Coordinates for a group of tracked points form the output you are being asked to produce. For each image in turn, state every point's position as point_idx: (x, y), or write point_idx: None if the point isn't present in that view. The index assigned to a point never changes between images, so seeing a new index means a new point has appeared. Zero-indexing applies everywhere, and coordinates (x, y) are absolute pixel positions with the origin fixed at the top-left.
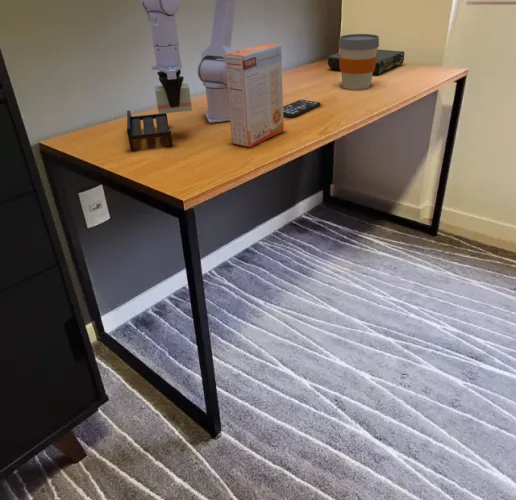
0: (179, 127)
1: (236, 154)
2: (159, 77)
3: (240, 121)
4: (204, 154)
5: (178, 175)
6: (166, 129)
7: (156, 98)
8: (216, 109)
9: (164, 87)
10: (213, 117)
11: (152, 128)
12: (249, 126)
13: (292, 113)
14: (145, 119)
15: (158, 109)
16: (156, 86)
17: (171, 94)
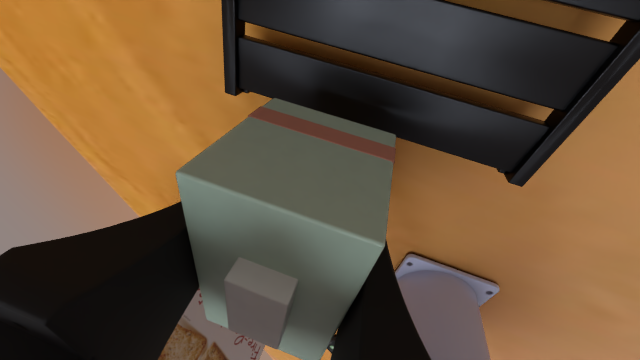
0: (453, 178)
1: (164, 182)
2: (29, 318)
3: None
4: (174, 129)
5: (34, 5)
6: (277, 91)
7: (295, 151)
8: (405, 302)
9: (95, 233)
10: (417, 275)
11: (324, 32)
12: None
13: (330, 345)
14: (540, 47)
15: (262, 107)
16: (349, 248)
17: None
